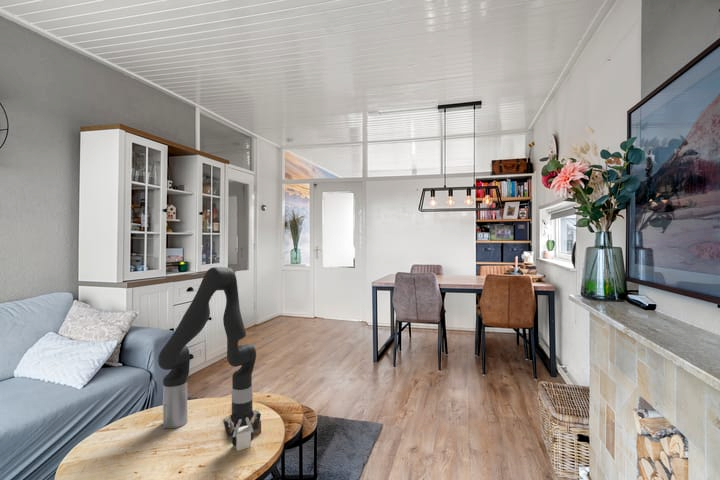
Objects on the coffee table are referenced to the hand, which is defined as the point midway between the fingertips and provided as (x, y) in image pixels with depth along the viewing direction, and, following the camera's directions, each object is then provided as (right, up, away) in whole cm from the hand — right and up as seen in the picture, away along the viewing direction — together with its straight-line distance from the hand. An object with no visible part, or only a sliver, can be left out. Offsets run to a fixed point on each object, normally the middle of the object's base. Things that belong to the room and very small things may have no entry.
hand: (242, 443), depth 141 cm
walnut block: (-3, -1, +12) cm, 13 cm away
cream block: (0, -1, 0) cm, 1 cm away
